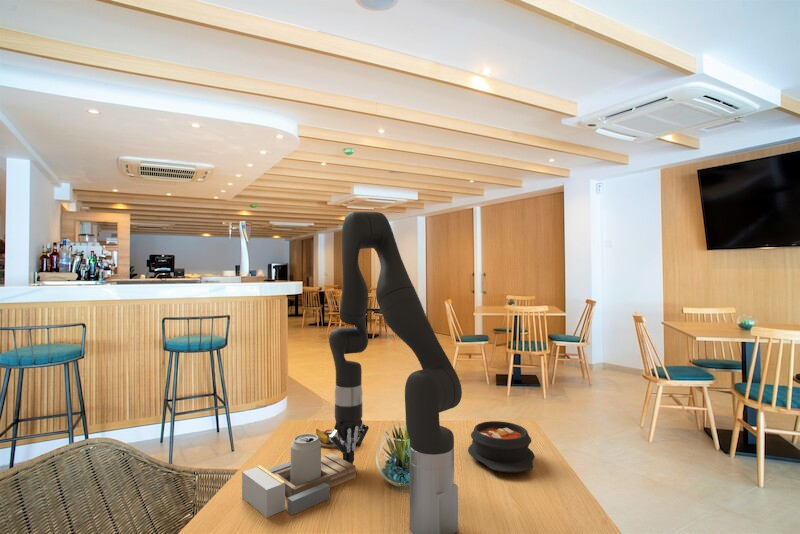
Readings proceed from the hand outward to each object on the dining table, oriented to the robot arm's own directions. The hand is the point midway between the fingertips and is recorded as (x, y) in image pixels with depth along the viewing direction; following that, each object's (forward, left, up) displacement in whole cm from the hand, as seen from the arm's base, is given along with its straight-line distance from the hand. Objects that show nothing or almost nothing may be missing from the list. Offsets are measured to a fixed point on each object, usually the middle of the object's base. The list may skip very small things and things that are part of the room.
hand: (348, 464), depth 117 cm
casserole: (-26, -35, -1) cm, 44 cm away
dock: (0, +20, -1) cm, 20 cm away
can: (0, +14, -1) cm, 14 cm away
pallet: (0, +11, -1) cm, 11 cm away
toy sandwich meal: (+18, -9, -2) cm, 21 cm away
